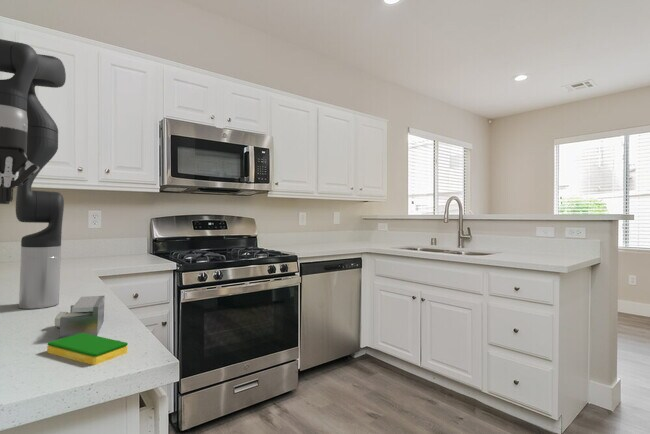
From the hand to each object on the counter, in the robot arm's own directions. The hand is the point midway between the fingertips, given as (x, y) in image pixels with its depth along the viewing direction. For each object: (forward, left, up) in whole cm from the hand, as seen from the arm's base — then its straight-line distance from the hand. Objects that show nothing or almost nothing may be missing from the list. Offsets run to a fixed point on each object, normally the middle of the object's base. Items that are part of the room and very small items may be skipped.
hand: (3, 203), depth 83 cm
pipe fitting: (+4, +15, -30) cm, 33 cm away
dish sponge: (+22, +20, -30) cm, 42 cm away
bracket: (+5, +17, -29) cm, 34 cm away
